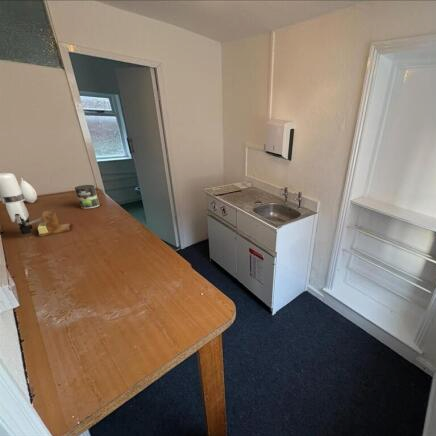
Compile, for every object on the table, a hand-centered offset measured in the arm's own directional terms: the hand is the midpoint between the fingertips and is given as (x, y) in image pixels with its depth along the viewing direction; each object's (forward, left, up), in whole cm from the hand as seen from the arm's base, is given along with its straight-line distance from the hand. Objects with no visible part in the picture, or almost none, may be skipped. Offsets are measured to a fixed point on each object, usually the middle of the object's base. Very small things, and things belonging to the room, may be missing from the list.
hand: (27, 231), depth 121 cm
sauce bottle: (-6, +66, -3) cm, 66 cm away
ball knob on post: (+6, 0, +3) cm, 7 cm away
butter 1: (+6, +2, -1) cm, 7 cm away
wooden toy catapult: (+10, 0, -3) cm, 10 cm away
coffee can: (+26, +36, -3) cm, 44 cm away
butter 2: (+6, -2, -1) cm, 7 cm away
